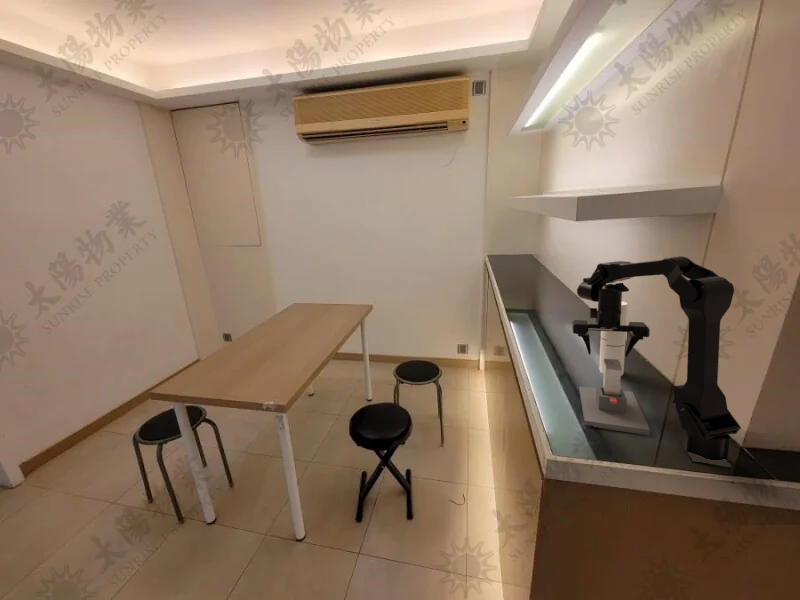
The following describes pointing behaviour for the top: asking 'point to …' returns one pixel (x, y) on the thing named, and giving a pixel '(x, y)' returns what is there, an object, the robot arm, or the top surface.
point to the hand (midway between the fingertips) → (607, 355)
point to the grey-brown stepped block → (611, 377)
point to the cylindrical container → (614, 342)
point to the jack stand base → (612, 411)
